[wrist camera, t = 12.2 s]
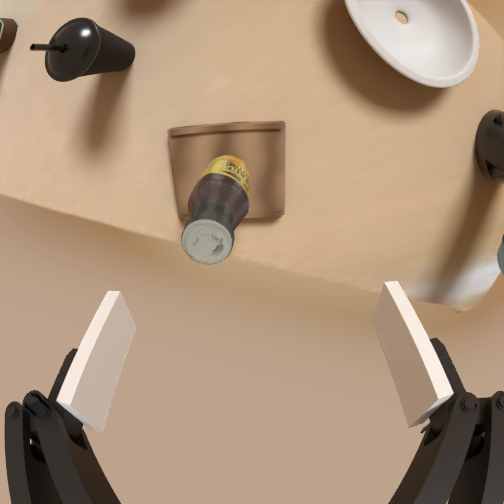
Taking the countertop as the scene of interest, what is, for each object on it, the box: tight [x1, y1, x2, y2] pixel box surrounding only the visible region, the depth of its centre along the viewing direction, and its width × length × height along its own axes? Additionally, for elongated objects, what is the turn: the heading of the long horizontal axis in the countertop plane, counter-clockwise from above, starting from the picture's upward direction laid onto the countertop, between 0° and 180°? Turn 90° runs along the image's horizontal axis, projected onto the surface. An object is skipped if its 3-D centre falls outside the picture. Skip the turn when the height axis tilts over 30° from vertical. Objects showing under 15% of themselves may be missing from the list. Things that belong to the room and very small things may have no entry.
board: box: [168, 121, 285, 221], centre depth 38 cm, size 16×14×3 cm
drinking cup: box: [30, 18, 135, 82], centre depth 20 cm, size 8×8×20 cm
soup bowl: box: [344, 0, 479, 88], centre depth 21 cm, size 24×24×7 cm
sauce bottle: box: [181, 155, 250, 264], centre depth 29 cm, size 6×6×20 cm
